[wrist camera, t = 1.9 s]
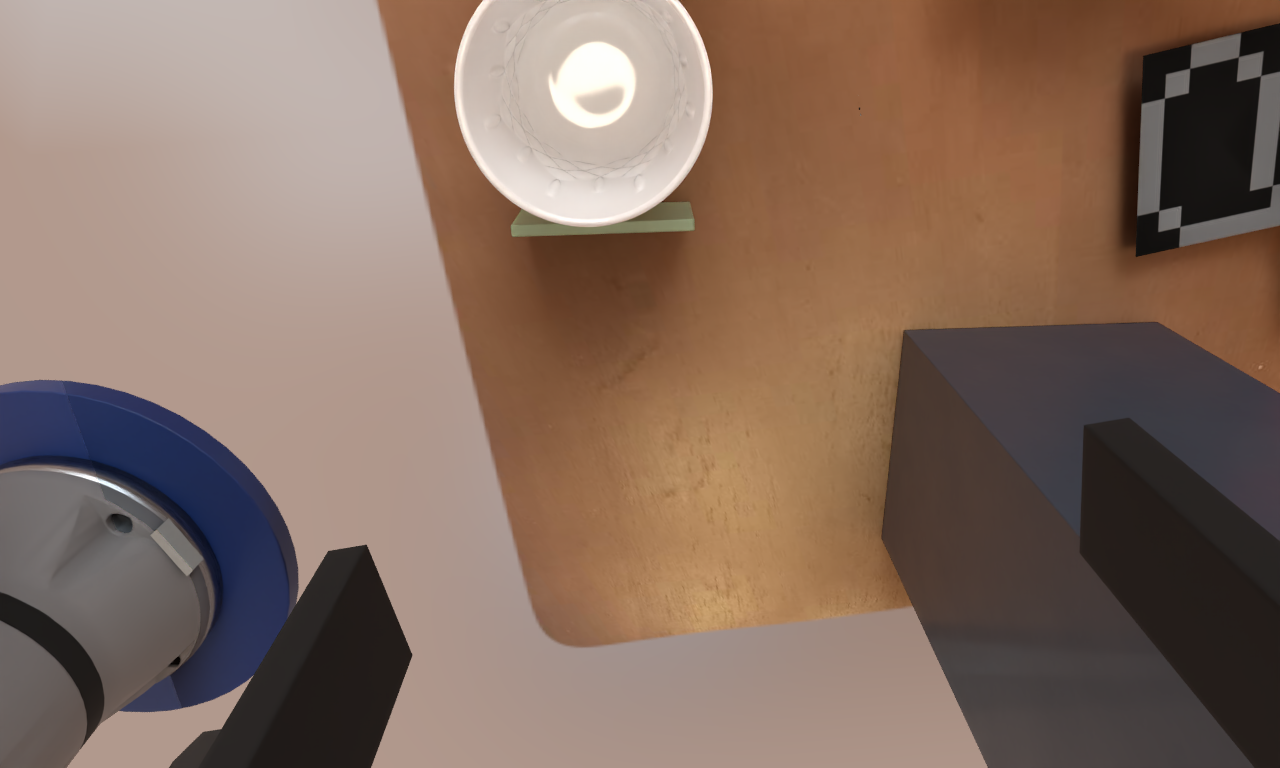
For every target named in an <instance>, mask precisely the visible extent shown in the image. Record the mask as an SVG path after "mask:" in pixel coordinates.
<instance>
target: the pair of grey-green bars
mask: <svg viewBox="0 0 1280 768" xmlns="http://www.w3.org/2000/svg"><path fill="white" fill-rule="evenodd" d="M694 229H695V220H694V216H693V213H692V209H691V205H690V202H664V203H659V204H658V205H656V206H655V207H653V208H652V209H650V210H648V211H647V212H645V213H643V214H641V215H639V216H637V217H634V218H632V219H629V220H627V221H624V222H620V223H617V224H612V225H607V226H599V227H575V226H567V225H562V224H558V223H554V222H550V221H547V220H545V219H542V218H539V217H537V216H535V215H533V214H531V213H529V212H527V211H525V210H523V209H521V211H520V212H519V214H518V215H517V217H516V218H515V220H514V222H513V223H512V225H511V234H512V237H527V236H556V235H586V234H615V233H645V232H674V231H694Z"/></svg>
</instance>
